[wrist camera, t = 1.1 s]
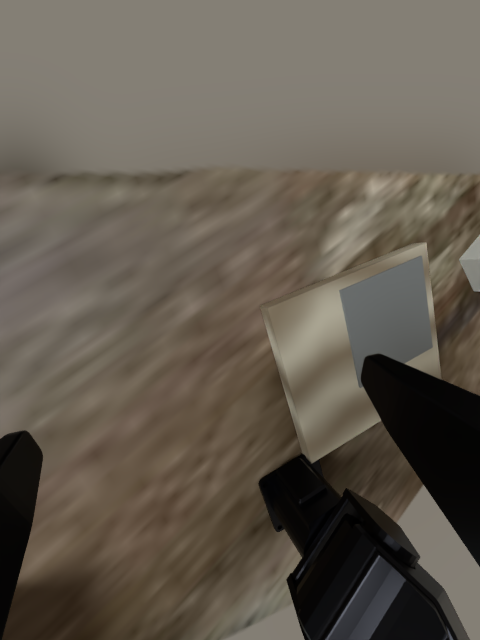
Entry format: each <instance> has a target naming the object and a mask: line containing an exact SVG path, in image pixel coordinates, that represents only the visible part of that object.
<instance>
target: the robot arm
mask: <svg viewBox="0 0 480 640" xmlns="http://www.w3.org/2000/svg"><path fill="white" fill-rule="evenodd" d="M361 383H362V385H363V387H364V389H365V391H366V393H367V395H368V397H369V398H370V400H371V402H372V404H373V406H374V408H375V409H376V411H377V413H378V415H379V417H380V419H381V420H382V422H383V424H384V426H385V428H386V429H387V431H388V432H389V434H390V436H391V437H392V439H393V440H394V442H395V443H396V445H397V446H398V447H399V449H400V450H401V452H402V453H403V455H404V456H405V458H406V459H407V461H408V462H409V464H410V465H411V467H412V468H413V469H414V471H415V472H416V474H417V475H418V477H419V478H420V480H421V481H422V483H423V484H424V486H425V487H426V489H427V490H428V492H429V493H430V494H431V496H432V497H433V499H434V500H435V502H436V503H437V505H438V506H439V508H440V509H441V510H442V512H443V513H444V515H445V516H446V518H447V519H448V521H449V522H450V524H451V525H452V527H453V528H454V530H455V531H456V533H457V534H458V535H459V537H460V538H461V540H462V541H463V543H464V544H465V546H466V547H467V548H468V550H469V552H470V553H471V555H472V556H473V558H474V559H475V561H476V562H477V563H478V565H479V566H480V396H479V395H476V394H474V393H472V392H469V391H467V390H465V389H462V388H460V387H458V386H455V385H453V384H451V383H448V382H446V381H444V380H441V379H439V378H437V377H434V376H432V375H430V374H427V373H425V372H423V371H420V370H418V369H416V368H413V367H411V366H409V365H406V364H404V363H402V362H399V361H397V360H395V359H392V358H390V357H388V356H385V355H383V354H380V353H377V354H372V355H368V356H366V357H365V358H364V361H363V366H362V371H361ZM42 461H43V454H42V451H41V449H40V447H39V446H38V445H37V443H36V442H35V440H34V439H33V437H32V436H31V435H30V433H29V432H27V431H18V432H14V433H9V434H7V435H5V436H3V437H2V438H1V439H0V640H2V637H3V633H4V629H5V625H6V622H7V618H8V614H9V610H10V607H11V603H12V599H13V595H14V592H15V588H16V584H17V581H18V577H19V573H20V569H21V566H22V562H23V558H24V554H25V551H26V547H27V543H28V540H29V536H30V532H31V527H32V523H33V517H34V512H35V506H36V499H37V493H38V487H39V480H40V474H41V468H42ZM264 483H265V484H264ZM263 484H264V485H263ZM259 487H260V490H261V493H262V496H263V499H264V501H265V504H266V507H267V510H268V513H269V515H270V518H271V521H272V524H273V527H274V528H275V530H276V532H280V531H282V530H283V529H285V531H286V532H287V534H288V535H289V537H290V539H291V540H292V542H293V544H294V545H295V547H296V548H297V550H298V552H299V553H300V555H301V557H302V559H301V560H300V562H299V564H298V565H297V567H296V568H295V570H294V571H293V573H290V575H289V577H288V578H287V583H288V587H289V590H290V593H291V597H292V600H293V604H294V607H295V610H296V614H297V617H298V620H299V624H300V627H301V630H302V633H303V636H304V639H305V640H470V639H469V637H468V635H467V633H466V631H465V630H464V627H463V625H462V623H461V621H460V619H459V617H458V615H457V613H456V611H455V609H454V607H453V605H452V603H451V601H450V599H449V597H448V595H447V593H446V591H445V590H444V588H443V587H442V586H441V585H440V584H439V583H438V582H437V581H436V580H435V579H434V578H433V577H432V576H430V574H428V572H427V571H425V570H424V569H423V568H422V567H421V566H420V565H419V564H418V563H417V562H418V560H419V559H420V556H419V554H418V553H417V551H416V550H415V548H414V547H413V545H412V544H411V542H410V541H409V539H408V538H407V536H406V535H405V533H404V532H403V530H402V529H401V527H400V526H399V525H398V524H397V523H396V522H394V521H393V520H392V519H391V518H390V517H389V516H388V515H386V514H385V513H384V512H383V511H382V510H381V509H380V508H378V507H377V506H376V505H374V504H373V503H371V502H369V501H368V500H366V499H364V498H363V497H361V496H359V495H358V494H356V493H354V492H353V491H351V490H349V489H348V488H346V489H345V491H344V492H343V494H344V495H343V496H342V497H341V496H340V495H339V494H338V493H337V492H336V491H335V490H334V489H333V488H332V486H331V485H330V484H329V483H328V482H327V481H326V480H325V479H324V477H323V474H322V470H321V466H320V463H319V459H318V460H317V461H315V462H313V463H312V464H311V462H310V461H309V460H308V459H307V458H306V456H305V455H304V454H302V455H300V456H298V457H297V458H295V459H293V460H292V461H290V462H288V463H287V464H285V465H283V466H282V467H280V468H279V469H277V470H275V471H274V472H272V473H270V474H269V475H267V476H265V477H264V478H262V479H261V480H260V481H259Z"/></svg>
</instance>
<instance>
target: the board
mask: <svg viewBox="0 0 480 640" xmlns="http://www.w3.org/2000/svg"><path fill="white" fill-rule="evenodd" d="M260 309H261V312H262V316H263V319H264V322H265V326H266V329H267V333H268V336H269V340H270V343H271V347H272V350H273V353H274V357H275V360H276V364H277V367H278V371H279V374H280V378H281V381H282V384H283V388H284V391H285V395H286V398H287V402H288V405H289V409H290V412H291V415H292V419H293V422H294V426H295V429H296V433H297V436H298V440H299V443H300V447H301V450H302V453H303V454H304V455H305V456H306V458H307V459H308V460H309V461H310V462H311V464H312V463H313V462H315V461H317V460H318V459H320V458H321V457H323V456H325V455H326V454H328V453H330V452H331V451H333V450H334V449H336V448H338V447H339V446H341V445H342V444H344V443H346V442H347V441H349V440H351V439H352V438H354V437H355V436H357V435H359V434H360V433H362V432H363V431H365V430H367V429H368V428H370V427H372V426H373V425H375V424H376V423H378V422H380V421H381V419H380V417H379V415H378V413H377V411H376V409H375V408H374V406H373V404H372V402H371V400H370V398H369V397H368V395H367V393H366V391H365V389H364V387H363V385H362V383H361V371H362V366H363V361H364V358H365V357H366V356H368V355H372V354H377V353H380V354H383V355H385V356H388V357H390V358H392V359H395V360H397V361H399V362H402V363H404V364H406V365H409V366H411V367H413V368H416V369H418V370H420V371H423V372H425V373H427V374H430V375H432V376H434V377H437V378H439V379H441V370H440V361H439V352H438V343H437V334H436V325H435V316H434V307H433V298H432V289H431V280H430V271H429V262H428V253H427V244H426V243H415V244H410V245H408V246H405V247H403V248H401V249H398V250H396V251H393V252H391V253H388V254H386V255H383V256H381V257H378V258H376V259H374V260H371V261H369V262H366V263H364V264H361V265H359V266H356V267H354V268H351V269H349V270H346V271H344V272H342V273H339V274H337V275H334V276H332V277H329V278H327V279H324V280H322V281H319V282H317V283H314V284H312V285H310V286H307V287H305V288H302V289H300V290H297V291H295V292H292V293H290V294H287V295H285V296H283V297H280V298H278V299H275V300H273V301H270V302H268V303H265V304H263V305H260ZM441 380H442V379H441Z"/></svg>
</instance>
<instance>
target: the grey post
mask: <svg viewBox="0 0 480 640" xmlns="http://www.w3.org/2000/svg"><path fill="white" fill-rule="evenodd" d="M459 261H460V263H461V265H462V267H463V269H464V271H465V273H466V275H467V278H468V280H469V282H470V284H471V286H472V288H473V290H474V291H477V292H480V235H479V236H478V238H477V239H476V240H475V241H474V242H473V243H472V245H471V246H470V247H469V248H468V249H467V251H466V252H465V253H464V254H463V255H462V257H461V258H460V259H459Z"/></svg>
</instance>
